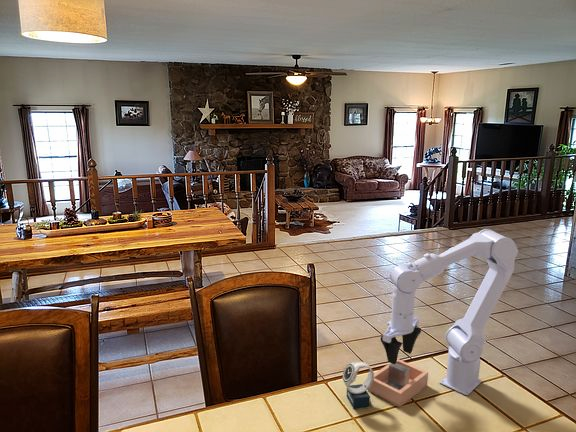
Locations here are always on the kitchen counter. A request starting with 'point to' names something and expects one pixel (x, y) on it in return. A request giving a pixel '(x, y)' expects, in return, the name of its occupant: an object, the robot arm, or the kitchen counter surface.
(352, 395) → the watch
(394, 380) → the grey metal t-piece
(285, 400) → the kitchen counter surface
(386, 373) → the salmon pink open box
